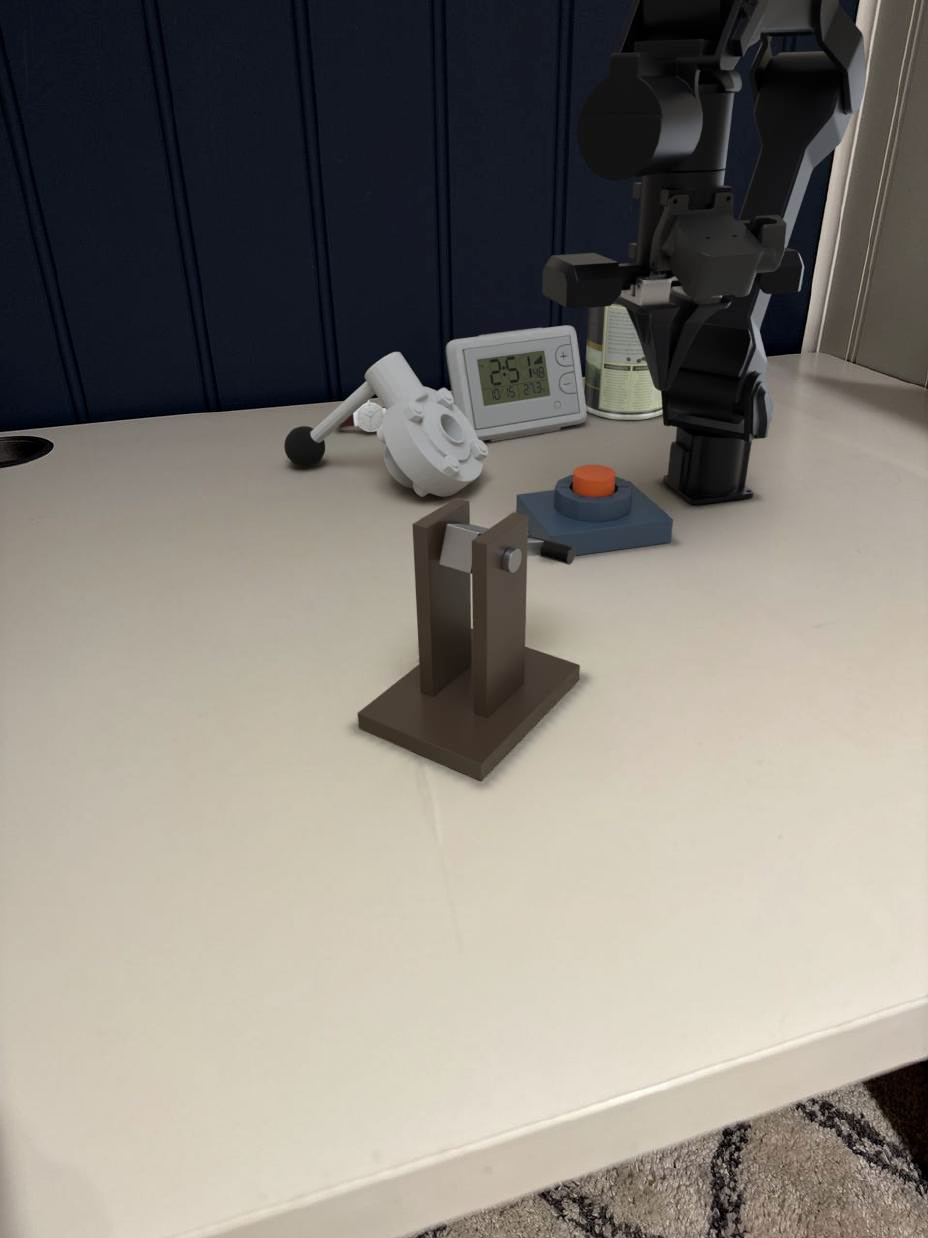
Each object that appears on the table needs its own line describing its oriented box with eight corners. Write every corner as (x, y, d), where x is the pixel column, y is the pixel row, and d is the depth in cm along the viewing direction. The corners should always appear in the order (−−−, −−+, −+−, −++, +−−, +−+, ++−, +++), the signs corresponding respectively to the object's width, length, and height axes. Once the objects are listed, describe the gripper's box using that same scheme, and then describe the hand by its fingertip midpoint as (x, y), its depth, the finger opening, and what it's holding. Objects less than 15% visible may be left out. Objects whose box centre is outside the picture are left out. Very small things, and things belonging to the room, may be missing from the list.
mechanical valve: (457, 488, 80) (361, 346, 79) (336, 576, 91) (249, 452, 89) (505, 459, 88) (419, 330, 87) (389, 543, 99) (310, 429, 98)
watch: (338, 437, 101) (335, 405, 99) (333, 424, 105) (331, 393, 103) (406, 431, 102) (404, 399, 100) (398, 418, 106) (397, 388, 104)
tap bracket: (466, 640, 64) (463, 470, 57) (579, 679, 59) (590, 500, 53) (358, 728, 55) (340, 540, 49) (481, 781, 51) (479, 583, 44)
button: (604, 481, 79) (605, 462, 78) (621, 496, 76) (622, 477, 75) (566, 485, 78) (567, 467, 78) (581, 501, 75) (582, 482, 75)
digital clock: (456, 448, 97) (454, 349, 92) (439, 422, 105) (436, 329, 99) (597, 435, 100) (604, 338, 95) (571, 411, 108) (575, 319, 102)
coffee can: (564, 407, 109) (569, 285, 102) (618, 389, 115) (627, 273, 108) (632, 426, 102) (642, 298, 95) (685, 407, 108) (699, 284, 101)
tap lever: (505, 555, 61) (513, 520, 60) (571, 573, 58) (579, 537, 58) (418, 558, 52) (426, 517, 51) (491, 580, 49) (500, 538, 49)
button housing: (627, 502, 84) (630, 461, 82) (670, 542, 77) (675, 499, 75) (515, 516, 82) (516, 475, 80) (549, 559, 74) (551, 515, 72)
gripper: (604, 184, 54) (589, 433, 62) (871, 172, 58) (825, 407, 66) (542, 170, 63) (536, 388, 71) (777, 161, 67) (746, 368, 75)
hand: (661, 388), depth 71 cm, fingers closed
